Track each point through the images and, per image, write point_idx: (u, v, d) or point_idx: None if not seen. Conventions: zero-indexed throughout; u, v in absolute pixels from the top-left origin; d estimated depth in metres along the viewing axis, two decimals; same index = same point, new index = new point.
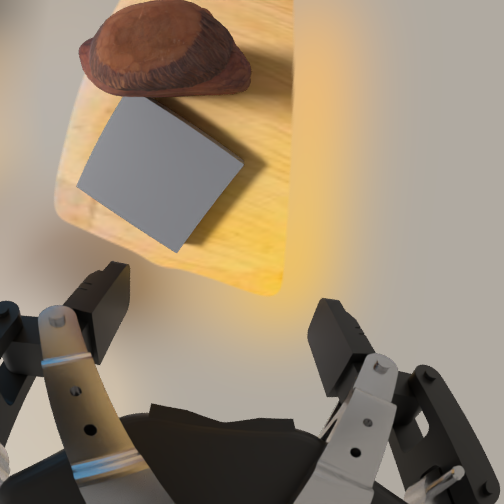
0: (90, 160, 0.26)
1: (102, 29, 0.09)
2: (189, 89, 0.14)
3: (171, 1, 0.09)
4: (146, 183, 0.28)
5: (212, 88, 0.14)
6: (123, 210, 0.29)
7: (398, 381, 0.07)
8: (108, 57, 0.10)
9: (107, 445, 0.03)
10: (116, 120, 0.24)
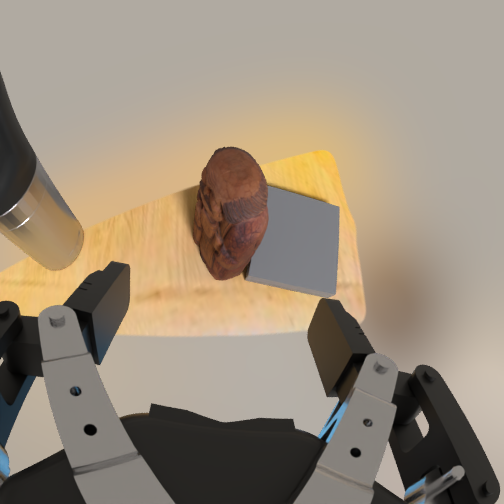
0: (312, 287, 0.39)
1: (238, 197, 0.24)
2: None
3: (212, 167, 0.25)
4: (307, 238, 0.41)
5: None
6: (333, 249, 0.41)
7: (398, 381, 0.07)
8: (255, 182, 0.25)
9: (107, 445, 0.03)
10: (275, 275, 0.38)
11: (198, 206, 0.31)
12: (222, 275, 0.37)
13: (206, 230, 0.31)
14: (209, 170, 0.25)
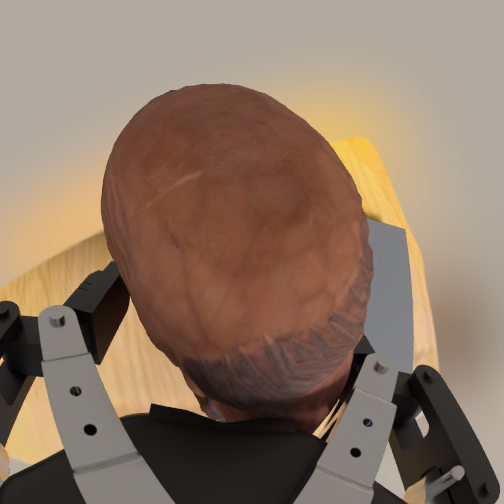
0: None
1: (263, 336, 0.04)
2: None
3: (116, 163, 0.04)
4: None
5: None
6: (405, 308, 0.22)
7: (398, 381, 0.07)
8: (347, 232, 0.04)
9: (107, 445, 0.03)
10: None
11: None
12: None
13: None
14: (106, 181, 0.05)
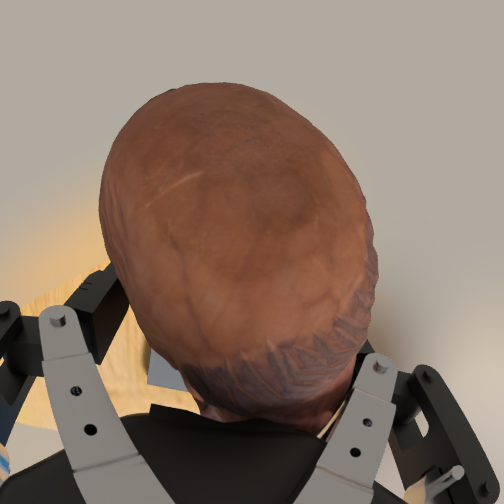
0: None
1: (265, 342, 0.04)
2: None
3: (114, 162, 0.04)
4: None
5: None
6: None
7: (398, 381, 0.07)
8: (353, 234, 0.04)
9: (107, 445, 0.03)
10: (178, 383, 0.29)
11: None
12: None
13: None
14: (104, 181, 0.05)
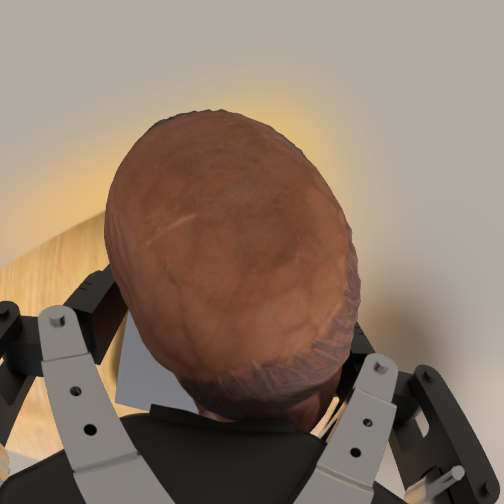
0: None
1: (250, 362, 0.04)
2: None
3: (117, 196, 0.05)
4: None
5: None
6: None
7: (398, 381, 0.07)
8: (332, 268, 0.05)
9: (107, 445, 0.03)
10: (161, 403, 0.18)
11: None
12: None
13: None
14: (109, 211, 0.05)
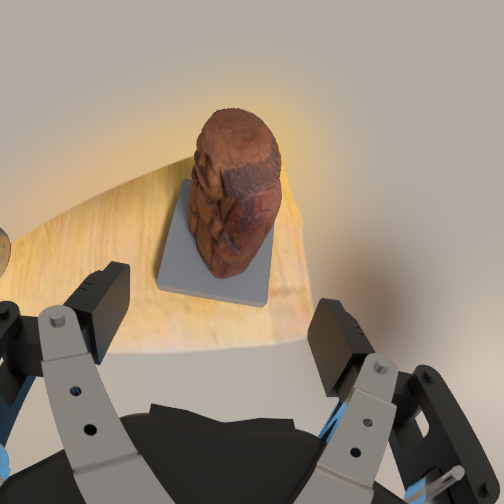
0: (234, 295, 0.32)
1: (243, 162, 0.18)
2: None
3: (209, 127, 0.18)
4: None
5: None
6: (264, 248, 0.35)
7: (398, 381, 0.07)
8: (265, 144, 0.18)
9: (107, 445, 0.03)
10: (188, 283, 0.31)
11: (193, 185, 0.25)
12: (223, 272, 0.30)
13: (202, 214, 0.25)
14: (205, 132, 0.19)
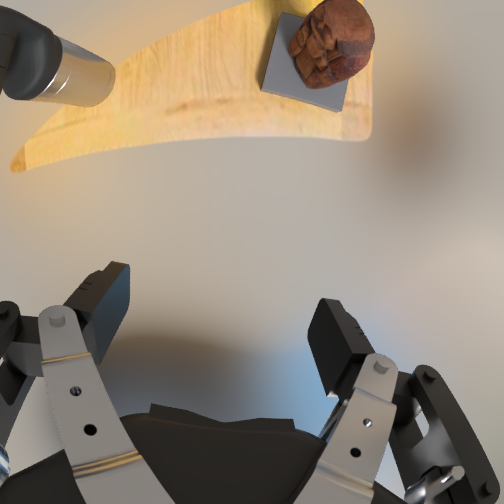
0: (319, 102, 0.38)
1: (353, 39, 0.20)
2: None
3: (331, 10, 0.19)
4: None
5: None
6: None
7: (398, 381, 0.07)
8: (368, 30, 0.19)
9: (107, 445, 0.03)
10: (287, 89, 0.37)
11: (305, 31, 0.25)
12: (315, 86, 0.35)
13: (311, 51, 0.27)
14: (327, 11, 0.19)
